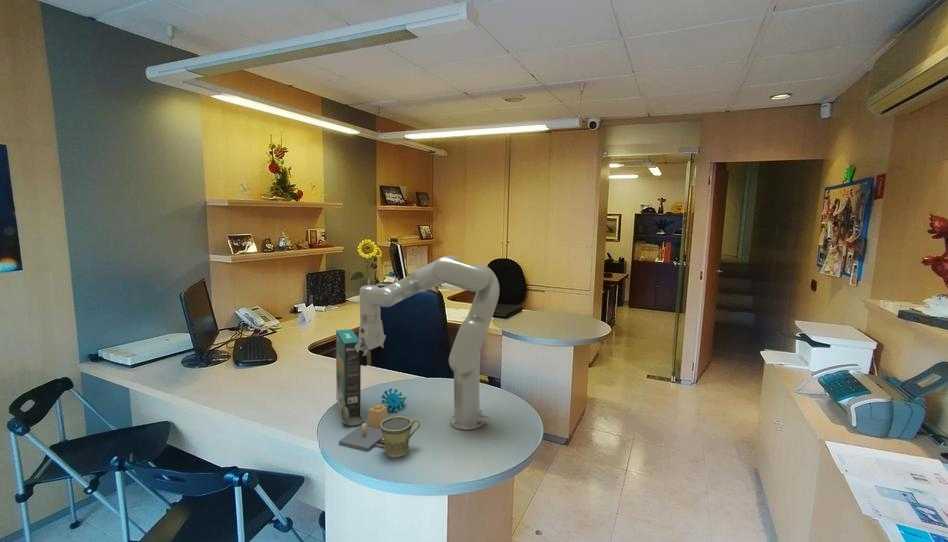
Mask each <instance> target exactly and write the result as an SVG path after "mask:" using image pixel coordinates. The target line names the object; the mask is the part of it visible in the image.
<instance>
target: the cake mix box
mask: <svg viewBox="0 0 948 542" xmlns="http://www.w3.org/2000/svg"><path fill="white" fill-rule="evenodd" d="M335 333H336V337H335V338H336V339H335V340H336V341H335V342H336V343H335V345H336V347H335V348H336V351H335V352H336V356H335V361H336V363H335V365H336V367H335V368H336V369H335V373H336V377H335V378H336V380H335V381H336V382H335V385H336V386H335V389H336V391H335V393H336V395H335V397H336V398H335V399H336V401H337V404H338V407H339V409H340V411H341V407H342V406H344V402H343V400H344V401H345V402H346V407H347V409H348V412H349V418H351V417H361V396H362V395H361V391H362V390H361V386H362V385H361V384H362V383H361V381H362V375H361V374H362V372H361V369H362V368H361V366H362V365H360V364H359V355H358V353H357V352H356V349H355V345H356V344H357V343H358V342H359V337H358V336H357V335H356V334H355V332H354V331H353V330H352V328H348V329H337V330H335ZM344 414H345V413H344Z"/></svg>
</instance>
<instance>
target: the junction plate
mask: <svg viewBox="0 0 948 542" xmlns="http://www.w3.org/2000/svg"><path fill="white" fill-rule="evenodd" d="M338 445H340V446H343V447H347V448H351V449H354V450H355V449H356V450H360V451H364V452H370V451H371V450H372V449H373V448H375V447H379V448H382V449H386V448H385V443H384V438H383V435H382V431H381V429H379V428H374V427H370V426H367V423H366V422H363V423H362V424H361V425H359V427H358V426H357V428H356V429H354V430H353V431H352V432H350V433H348V434H347V435H345V436H344V437H342V438H341V439H339V440H338Z"/></svg>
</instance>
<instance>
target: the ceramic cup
mask: <svg viewBox="0 0 948 542" xmlns="http://www.w3.org/2000/svg"><path fill="white" fill-rule="evenodd" d="M415 424H418V426H417V427H416V428H415V429H414V430H413V431H412V432H411V430H412V428H413V426H414V425H415ZM420 427H421V423H420V422H419V421H418V420H414V421H412V420H411V419H410V418H409V417H407V416H402V415H400V416H398V415H397V416H391V417H387V419H385V420H384V421H382V422H381V428H380V430H381V431H382V435H383V438H384V441H383V442H384V443H385V444H384V445H385V448H384V449H385V452H386V455H387V456H388V457H390V458H395V459H396V458H399V457H403V456H405V454H407V453H408V449H409V444H410V442H409V441H410V439H411V437H412V436H413V435H414V434H415V433H416V432H417V431H418V429H420Z"/></svg>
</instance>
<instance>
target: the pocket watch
mask: <svg viewBox="0 0 948 542" xmlns="http://www.w3.org/2000/svg"><path fill="white" fill-rule="evenodd" d="M343 402H344V406H342V407H341V410H340V416H341V420H342V423H343V424H344V425H346V426H349V427H358V426H361V425H362V423H365V422H364V421H365V418H364V417H361V416H360V417H351V418H349V412H348V409H347V407H346V402H345V401H344V400H343ZM344 413H345V414H344Z"/></svg>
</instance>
